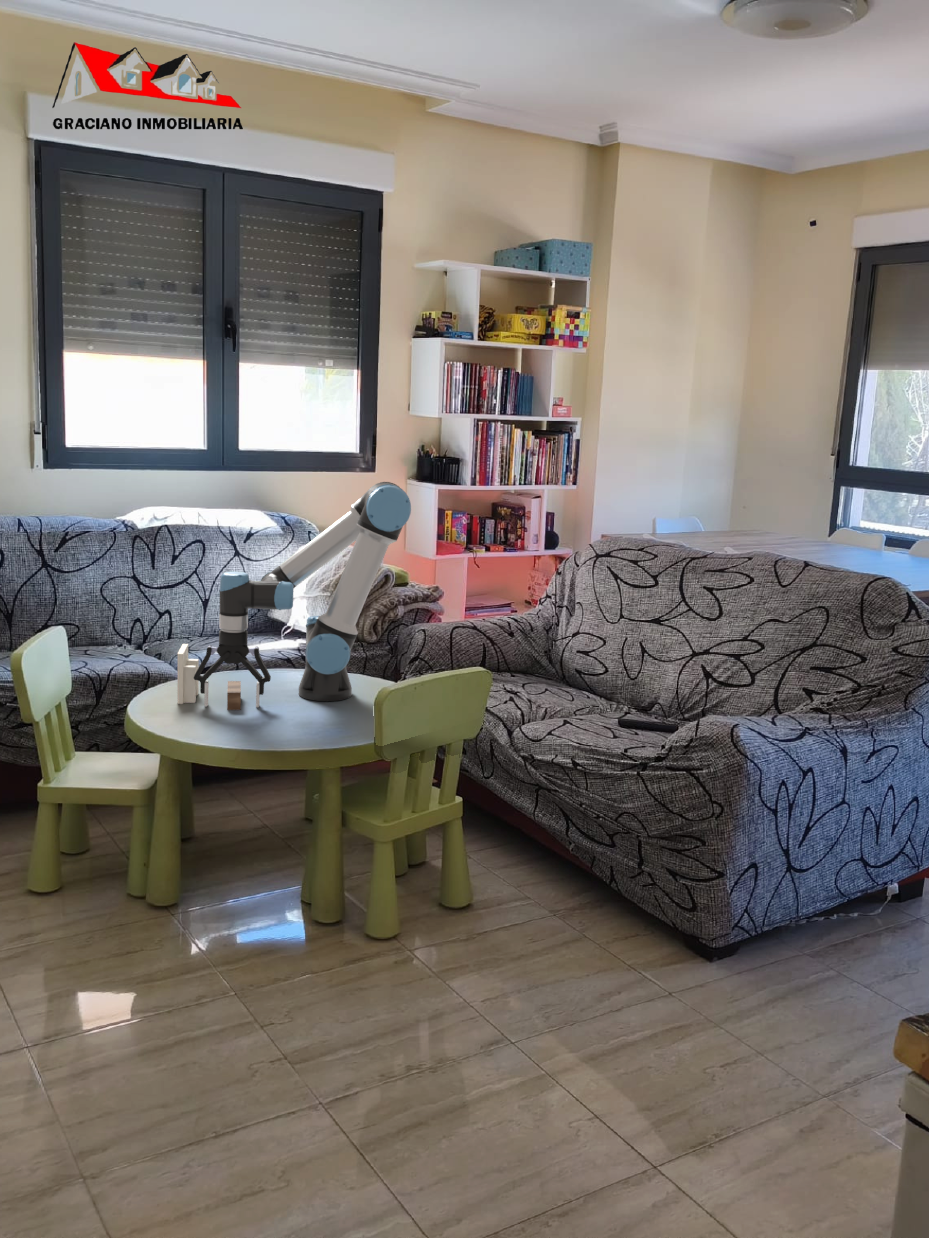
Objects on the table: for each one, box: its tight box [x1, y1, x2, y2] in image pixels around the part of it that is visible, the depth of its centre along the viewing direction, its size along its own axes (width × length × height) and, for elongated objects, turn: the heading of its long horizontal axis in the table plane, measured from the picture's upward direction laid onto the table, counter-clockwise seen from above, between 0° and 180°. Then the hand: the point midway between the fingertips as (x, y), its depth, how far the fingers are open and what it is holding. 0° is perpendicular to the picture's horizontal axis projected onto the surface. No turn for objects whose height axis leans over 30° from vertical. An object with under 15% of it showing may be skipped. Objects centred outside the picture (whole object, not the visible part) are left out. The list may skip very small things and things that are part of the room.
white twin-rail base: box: [177, 643, 200, 705], centre depth 301 cm, size 4×12×14 cm, turn 8°
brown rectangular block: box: [226, 680, 242, 711], centre depth 299 cm, size 12×4×5 cm, turn 12°
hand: (232, 705), depth 297 cm, fingers open, 13 cm apart
